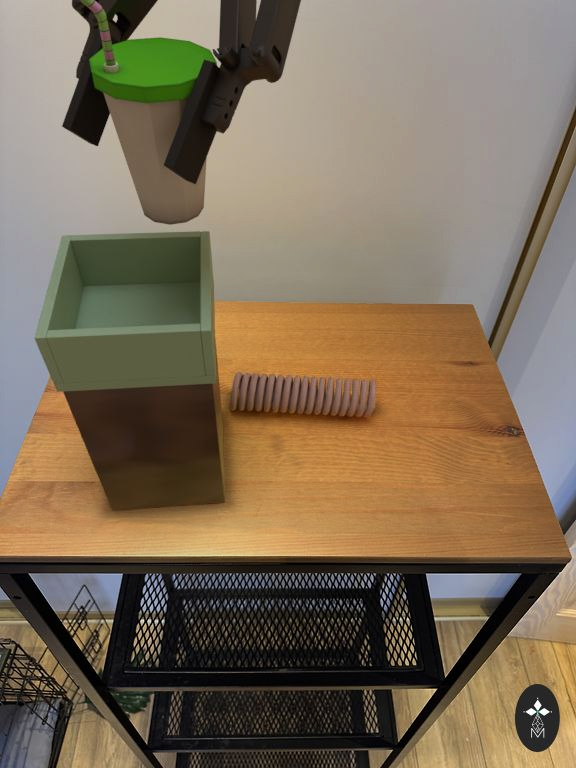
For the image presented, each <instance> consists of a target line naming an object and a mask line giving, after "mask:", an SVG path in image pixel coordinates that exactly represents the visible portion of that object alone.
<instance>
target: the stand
mask: <svg viewBox="0 0 576 768" xmlns="http://www.w3.org/2000/svg"><path fill="white" fill-rule="evenodd" d="M216 342H217V339H216V338H215V351H216V383H212V384H194V385H175V386H156V387H138V388H119V389H100V390H82V391H63V392H62V393H63V395H64V397H65V400H66V402H67V404H68V407H69V410H70V412H71V414H72V418H73V420H74V422H75V425H76V427H77V429H78V432H79V434H80V437H81V440H82V441H83V444H84V446H85V449H86V451H87V453H88V457H89V458H90V461H91V463H92V465H93V468H94V471H95V473H96V475H97V478H98V481H99V483H100V485H101V488H102V490H103V493H104V495H105V498H106V501H107V502H108V504H109V507H110V509H111V511H124V510H125V511H126V510H137V509H139V510H140V509H150V508H154V509H155V508H165V507H166V508H167V507H168V508H169V507H182V506H194V505H195V506H196V505H210V504H221V503H223V504H224V503H226V498H225V497H226V491H225V490H226V489H225V461H224V459H225V458H224V427H223V425H224V423H223V408H222V407H223V406H222V398H221V397H222V395H221V385H220V384H221V383H220V374H219V365H218V364H219V363H218V362H219V361H218V352H217V351H218V350H217V343H216Z"/></svg>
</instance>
